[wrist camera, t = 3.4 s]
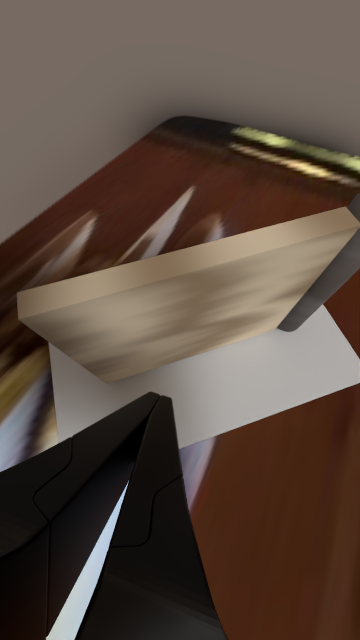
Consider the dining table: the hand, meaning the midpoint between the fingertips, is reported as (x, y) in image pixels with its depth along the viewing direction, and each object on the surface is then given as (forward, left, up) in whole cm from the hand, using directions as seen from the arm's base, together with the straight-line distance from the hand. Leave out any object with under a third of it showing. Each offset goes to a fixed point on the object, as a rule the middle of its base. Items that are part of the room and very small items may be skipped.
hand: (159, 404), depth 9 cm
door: (+5, -3, -7) cm, 9 cm away
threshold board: (+4, -2, -8) cm, 10 cm away
